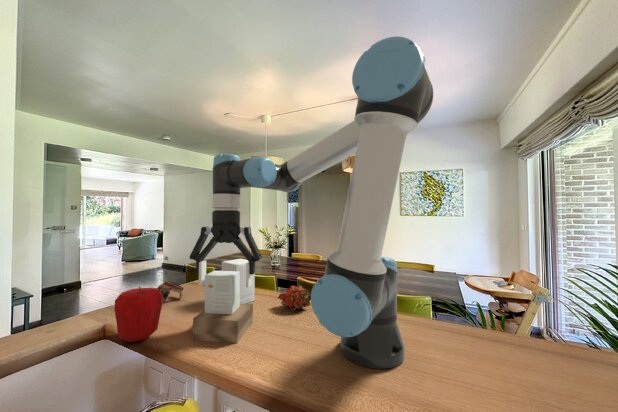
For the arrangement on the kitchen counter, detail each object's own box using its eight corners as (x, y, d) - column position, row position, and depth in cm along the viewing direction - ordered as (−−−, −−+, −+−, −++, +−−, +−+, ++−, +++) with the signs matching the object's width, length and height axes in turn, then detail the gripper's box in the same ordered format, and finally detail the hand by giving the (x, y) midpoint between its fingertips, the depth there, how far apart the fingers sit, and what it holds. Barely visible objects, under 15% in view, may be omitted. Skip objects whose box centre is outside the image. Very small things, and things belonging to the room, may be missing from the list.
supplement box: (255, 301, 96) (256, 260, 96) (235, 307, 89) (236, 264, 89) (240, 295, 101) (241, 258, 102) (220, 301, 94) (221, 261, 95)
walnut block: (252, 324, 77) (252, 304, 77) (237, 344, 65) (237, 320, 65) (214, 321, 78) (214, 302, 78) (192, 341, 66) (193, 318, 66)
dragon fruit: (313, 316, 86) (280, 317, 89) (315, 295, 93) (284, 296, 96) (306, 300, 82) (272, 302, 85) (310, 279, 89) (277, 281, 92)
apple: (118, 353, 59) (120, 294, 60) (109, 338, 66) (111, 285, 67) (167, 337, 67) (169, 285, 68) (154, 325, 74) (156, 278, 74)
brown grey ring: (152, 299, 97) (165, 278, 100) (176, 309, 98) (188, 289, 101) (142, 301, 86) (157, 278, 89) (169, 313, 87) (183, 289, 90)
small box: (239, 307, 74) (240, 271, 74) (232, 315, 69) (233, 275, 69) (213, 306, 75) (214, 270, 75) (203, 313, 69) (204, 274, 70)
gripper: (272, 210, 75) (272, 283, 74) (192, 209, 78) (191, 280, 77) (265, 209, 67) (264, 290, 67) (176, 209, 70) (175, 287, 69)
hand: (225, 285), depth 72 cm, fingers open, 13 cm apart
